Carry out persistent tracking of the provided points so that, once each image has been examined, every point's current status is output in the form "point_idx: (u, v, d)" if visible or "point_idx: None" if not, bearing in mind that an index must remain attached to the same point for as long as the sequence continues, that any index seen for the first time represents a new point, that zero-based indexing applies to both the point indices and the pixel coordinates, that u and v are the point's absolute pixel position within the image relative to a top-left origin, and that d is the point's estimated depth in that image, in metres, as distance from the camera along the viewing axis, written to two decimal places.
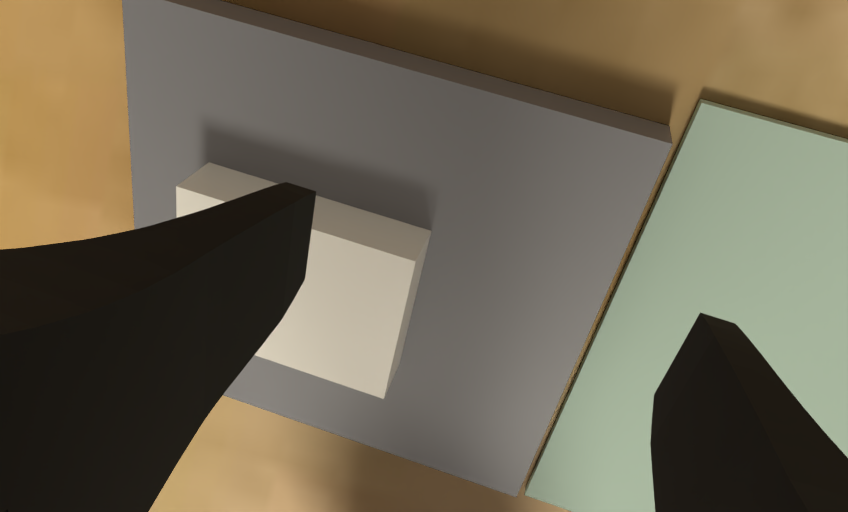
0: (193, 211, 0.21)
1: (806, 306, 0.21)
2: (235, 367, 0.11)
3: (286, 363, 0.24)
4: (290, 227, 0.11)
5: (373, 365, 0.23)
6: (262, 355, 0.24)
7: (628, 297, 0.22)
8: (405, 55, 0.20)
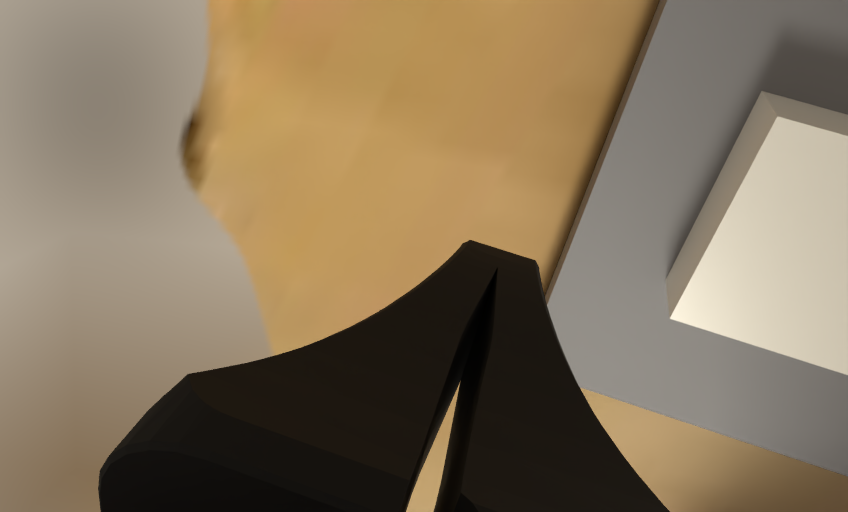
0: (787, 153, 0.15)
1: None
2: (434, 436, 0.11)
3: (828, 365, 0.18)
4: (488, 291, 0.11)
5: None
6: (789, 354, 0.18)
7: None
8: None
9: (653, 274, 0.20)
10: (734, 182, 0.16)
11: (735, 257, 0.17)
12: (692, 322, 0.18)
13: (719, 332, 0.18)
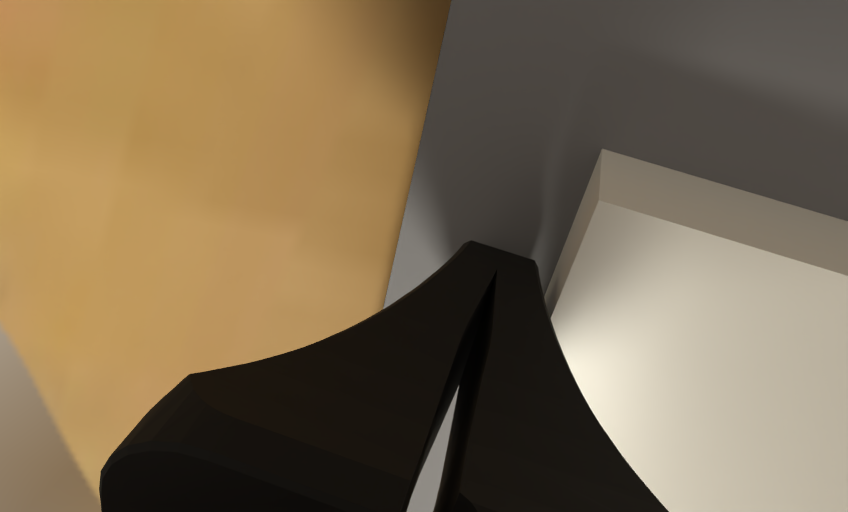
0: (621, 255, 0.10)
1: None
2: (434, 436, 0.11)
3: None
4: (488, 291, 0.11)
5: None
6: None
7: None
8: None
9: None
10: (558, 289, 0.11)
11: None
12: None
13: None
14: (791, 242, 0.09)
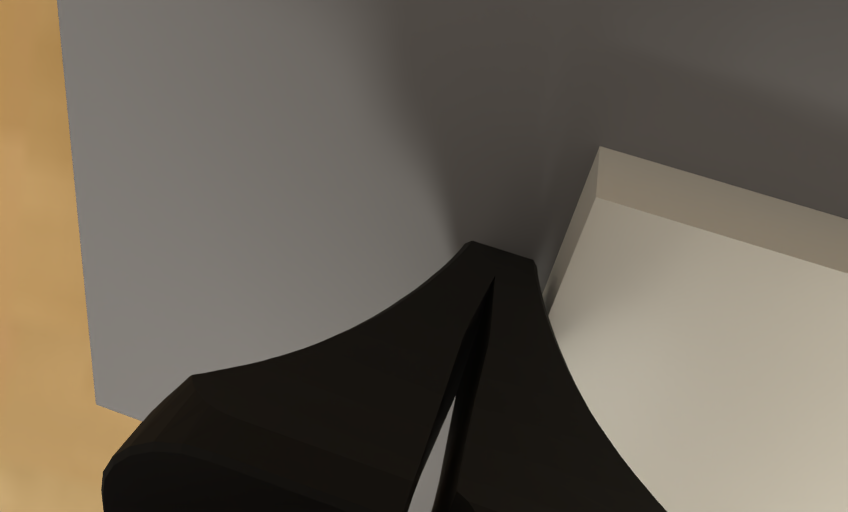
0: (618, 252, 0.10)
1: None
2: (436, 437, 0.11)
3: None
4: None
5: None
6: None
7: None
8: None
9: (184, 288, 0.15)
10: (555, 286, 0.11)
11: None
12: None
13: None
14: (788, 239, 0.09)
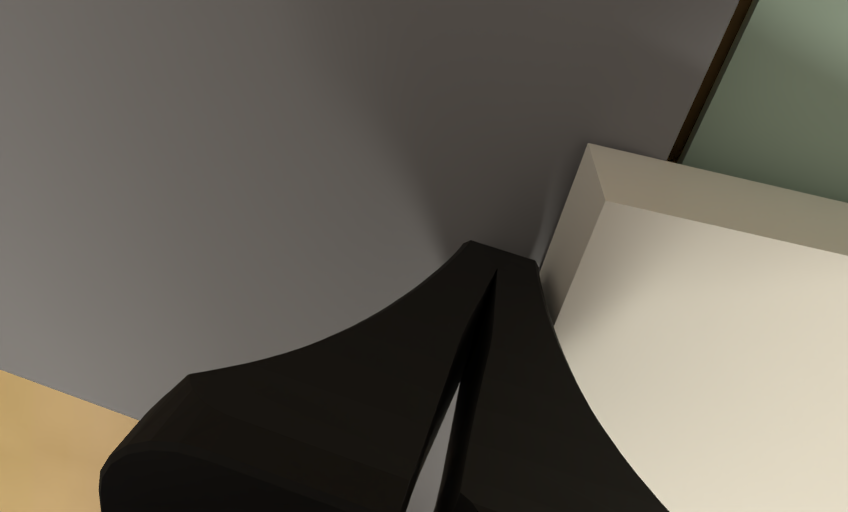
0: (627, 253, 0.09)
1: None
2: (434, 436, 0.11)
3: None
4: (488, 291, 0.11)
5: None
6: None
7: None
8: None
9: None
10: (557, 290, 0.11)
11: None
12: None
13: None
14: (786, 225, 0.10)
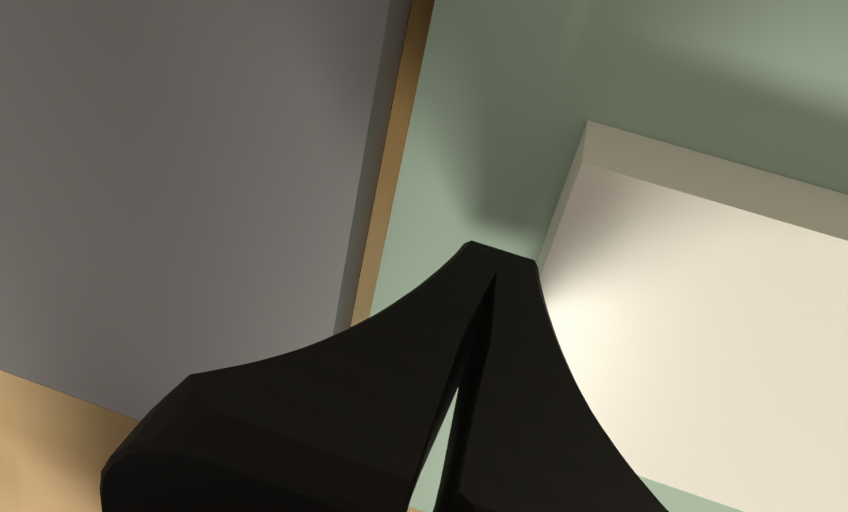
0: (603, 214, 0.11)
1: (737, 121, 0.11)
2: (435, 437, 0.11)
3: (695, 490, 0.13)
4: (489, 291, 0.11)
5: None
6: (643, 473, 0.13)
7: (432, 124, 0.13)
8: None
9: None
10: (546, 249, 0.12)
11: None
12: None
13: None
14: (758, 200, 0.10)
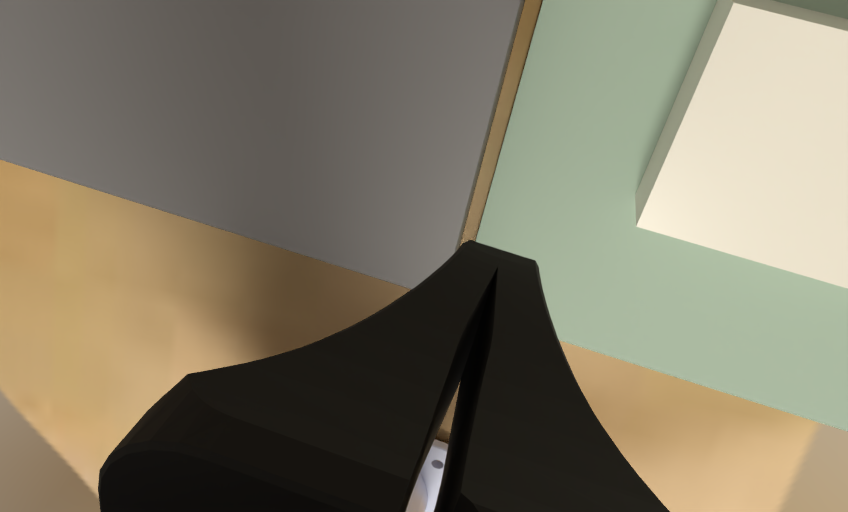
0: (745, 42, 0.15)
1: None
2: (434, 436, 0.11)
3: (795, 269, 0.18)
4: (488, 291, 0.11)
5: None
6: (756, 260, 0.18)
7: None
8: None
9: (42, 38, 0.21)
10: (695, 79, 0.16)
11: (698, 157, 0.17)
12: (658, 229, 0.18)
13: (686, 239, 0.18)
14: None
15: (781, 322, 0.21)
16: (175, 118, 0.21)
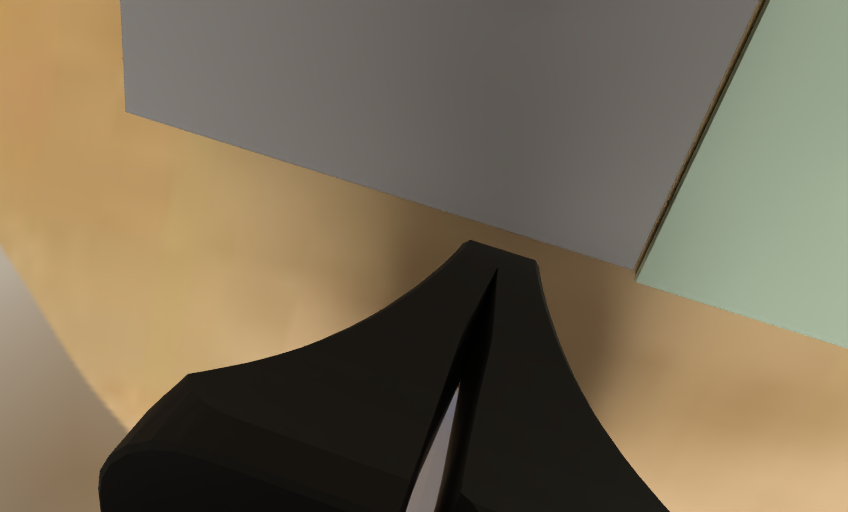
0: None
1: None
2: (434, 436, 0.11)
3: None
4: (488, 291, 0.11)
5: None
6: None
7: None
8: None
9: None
10: None
11: None
12: None
13: None
14: None
15: None
16: (346, 63, 0.19)
